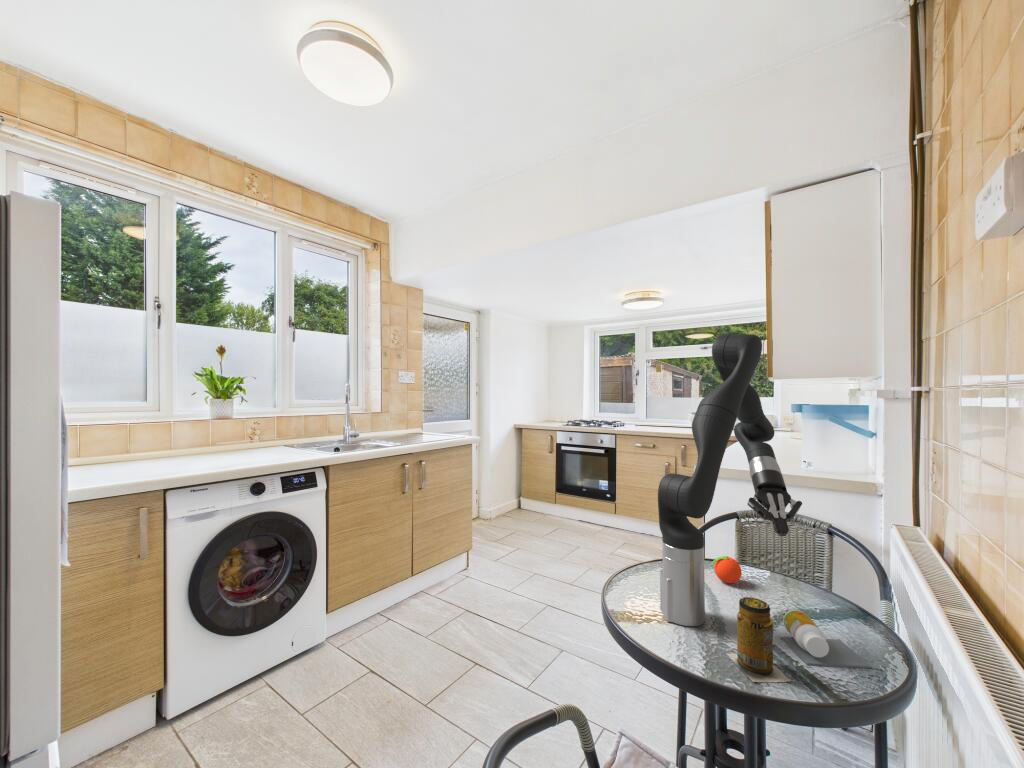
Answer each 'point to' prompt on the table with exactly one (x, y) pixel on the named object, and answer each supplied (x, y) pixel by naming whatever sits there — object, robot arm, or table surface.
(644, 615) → the table surface
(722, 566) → the clementine
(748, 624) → the condiment
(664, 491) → the robot arm
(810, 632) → the supplement bottle
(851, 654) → the mat
